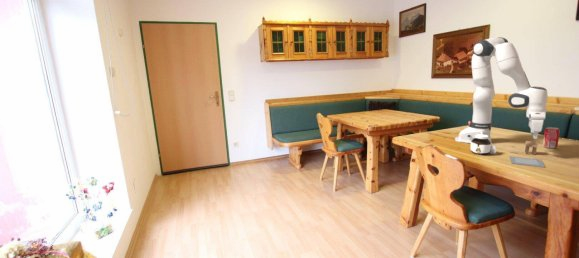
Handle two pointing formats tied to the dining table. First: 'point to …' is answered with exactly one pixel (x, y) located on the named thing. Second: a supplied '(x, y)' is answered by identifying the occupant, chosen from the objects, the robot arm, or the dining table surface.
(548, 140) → the soda can
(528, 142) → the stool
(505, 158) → the dining table surface
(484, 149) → the spread jar
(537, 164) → the pad
